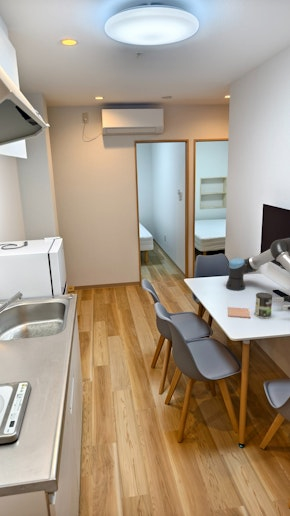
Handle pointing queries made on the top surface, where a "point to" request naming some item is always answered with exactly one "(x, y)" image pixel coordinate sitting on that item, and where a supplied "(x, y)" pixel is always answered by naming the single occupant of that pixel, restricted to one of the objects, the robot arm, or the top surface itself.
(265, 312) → the coffee can
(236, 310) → the terracotta tile
